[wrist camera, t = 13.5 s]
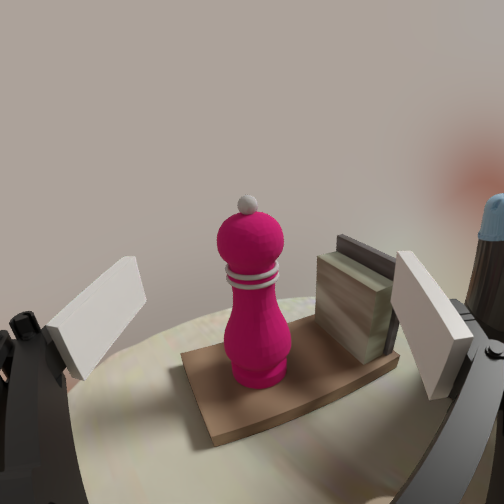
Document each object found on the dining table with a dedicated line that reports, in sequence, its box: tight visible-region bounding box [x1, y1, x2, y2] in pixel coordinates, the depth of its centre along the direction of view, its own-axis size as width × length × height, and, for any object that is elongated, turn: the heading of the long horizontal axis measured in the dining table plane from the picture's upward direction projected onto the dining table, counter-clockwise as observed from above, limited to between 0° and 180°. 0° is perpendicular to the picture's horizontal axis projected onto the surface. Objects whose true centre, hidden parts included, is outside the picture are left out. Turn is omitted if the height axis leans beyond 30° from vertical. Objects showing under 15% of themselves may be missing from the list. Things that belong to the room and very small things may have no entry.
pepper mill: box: [217, 195, 291, 389], centre depth 29 cm, size 7×7×20 cm
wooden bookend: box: [181, 234, 400, 447], centre depth 33 cm, size 24×14×14 cm, turn 113°
